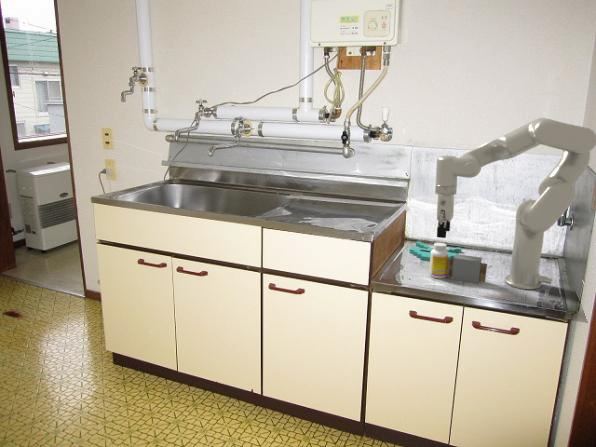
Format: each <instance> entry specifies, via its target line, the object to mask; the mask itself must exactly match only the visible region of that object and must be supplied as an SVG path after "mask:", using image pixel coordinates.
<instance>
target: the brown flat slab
mask: <svg viewBox="0 0 596 447" xmlns="http://www.w3.org/2000/svg"><path fill="white" fill-rule="evenodd" d="M453 261H454V259H449V258H448V263H447V273H446V277H448V278H452V272H453ZM487 268H488V263H485V262H484V263H483V262H481V265H480V274H479V283H486V277H487ZM446 277H445V278H446Z"/></svg>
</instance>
